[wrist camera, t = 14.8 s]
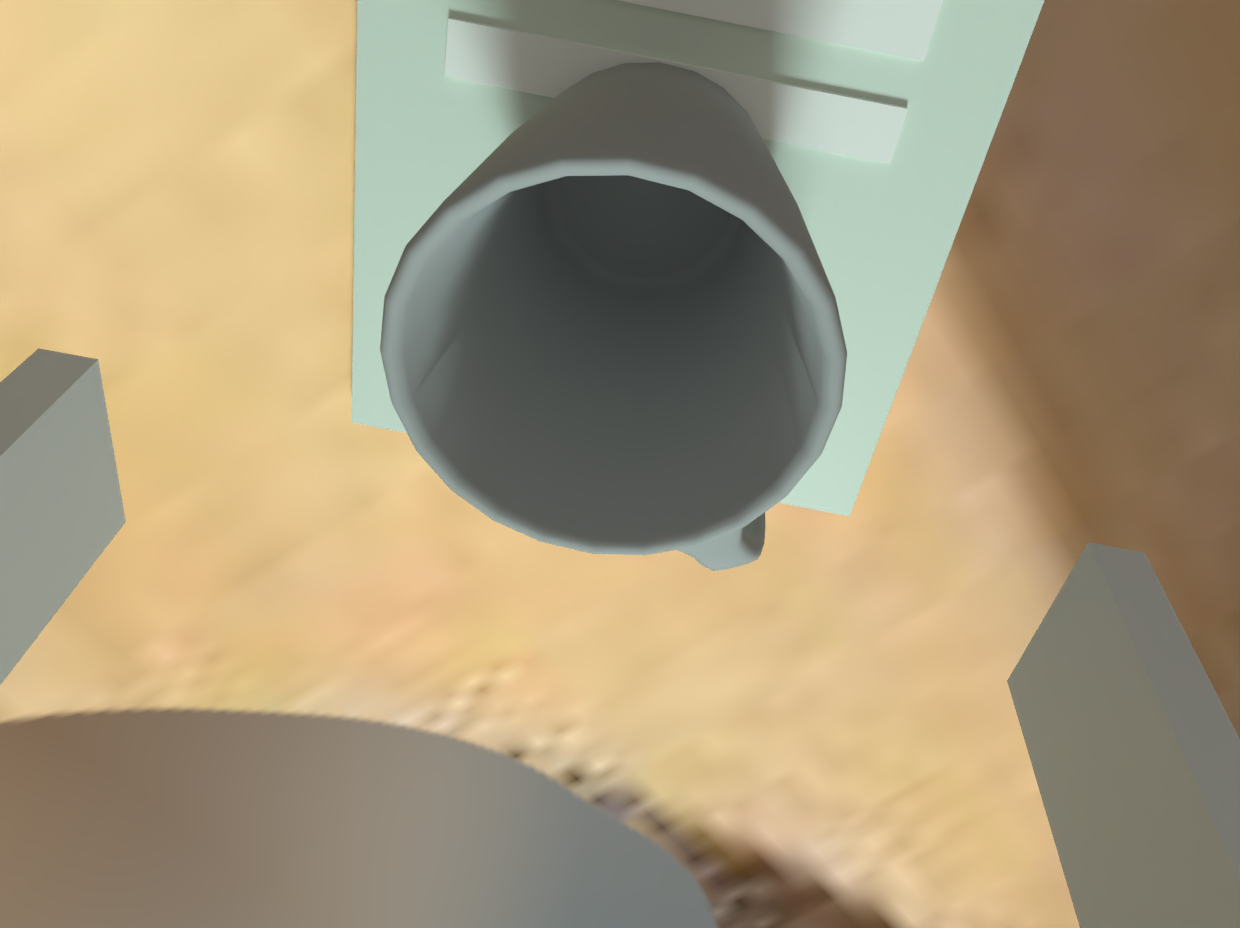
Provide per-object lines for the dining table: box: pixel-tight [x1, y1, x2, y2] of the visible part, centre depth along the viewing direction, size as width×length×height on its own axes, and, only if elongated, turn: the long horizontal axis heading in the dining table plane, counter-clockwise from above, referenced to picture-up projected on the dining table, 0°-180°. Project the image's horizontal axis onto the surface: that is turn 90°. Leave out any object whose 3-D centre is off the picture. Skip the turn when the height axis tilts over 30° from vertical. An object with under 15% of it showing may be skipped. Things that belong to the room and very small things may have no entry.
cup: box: [380, 62, 847, 571], centre depth 20 cm, size 8×10×8 cm
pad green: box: [352, 0, 1044, 516], centre depth 24 cm, size 14×14×1 cm
